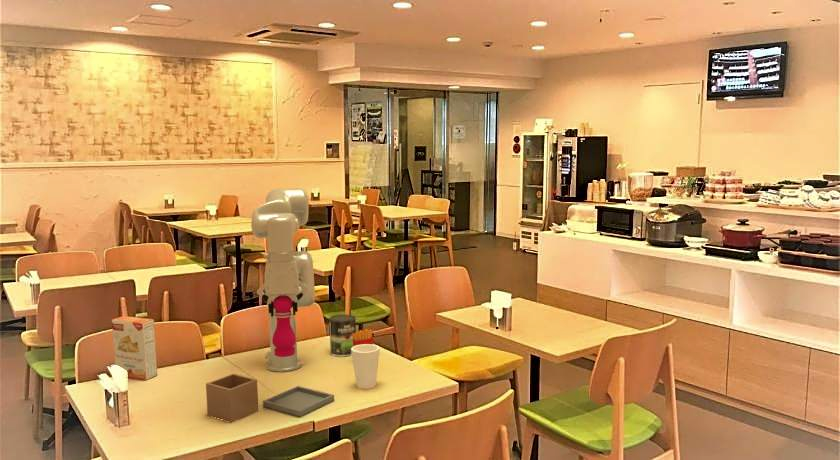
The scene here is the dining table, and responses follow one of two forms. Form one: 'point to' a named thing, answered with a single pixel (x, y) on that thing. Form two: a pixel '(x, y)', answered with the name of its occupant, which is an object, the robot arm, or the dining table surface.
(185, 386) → the dining table surface
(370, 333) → the french fries
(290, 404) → the tray
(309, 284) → the robot arm
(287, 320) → the pepper mill
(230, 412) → the open box
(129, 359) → the cracker box
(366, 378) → the foam cup
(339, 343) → the coffee can
